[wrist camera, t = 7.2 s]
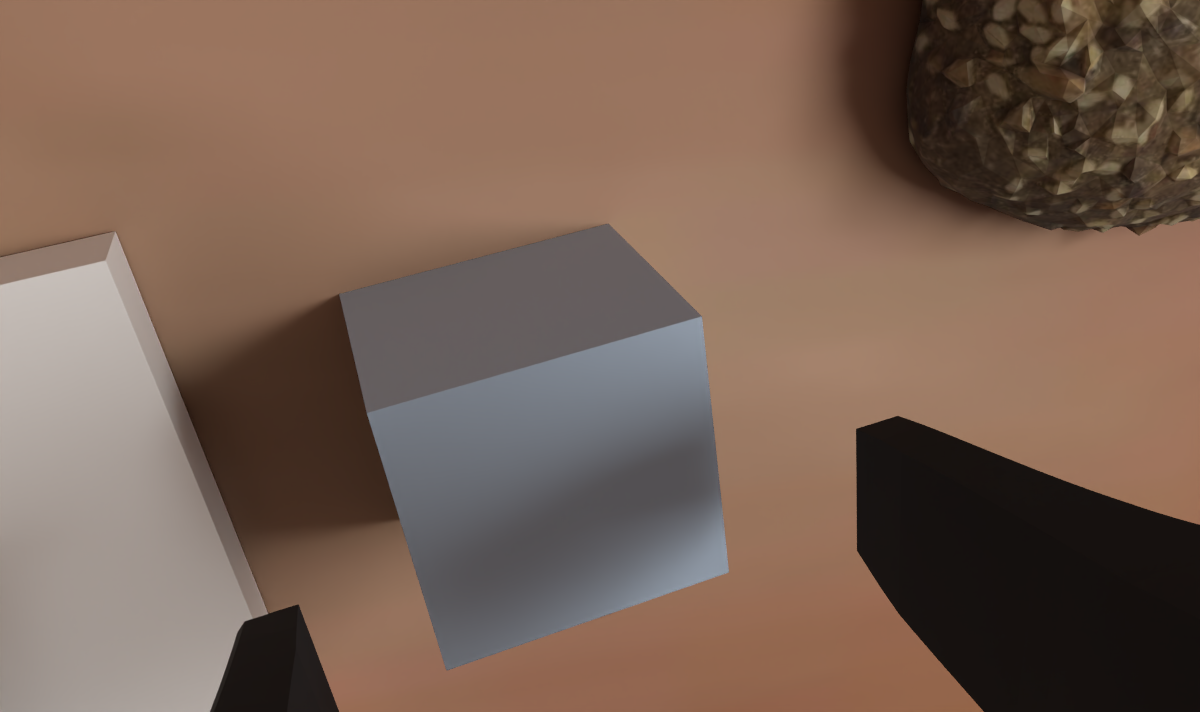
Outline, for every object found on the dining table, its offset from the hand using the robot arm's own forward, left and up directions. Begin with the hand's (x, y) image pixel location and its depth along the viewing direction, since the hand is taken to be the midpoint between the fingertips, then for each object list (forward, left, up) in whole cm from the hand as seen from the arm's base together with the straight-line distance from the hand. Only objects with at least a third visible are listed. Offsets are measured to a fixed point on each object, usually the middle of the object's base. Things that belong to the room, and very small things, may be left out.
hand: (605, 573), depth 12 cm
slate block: (0, 0, -6) cm, 6 cm away
